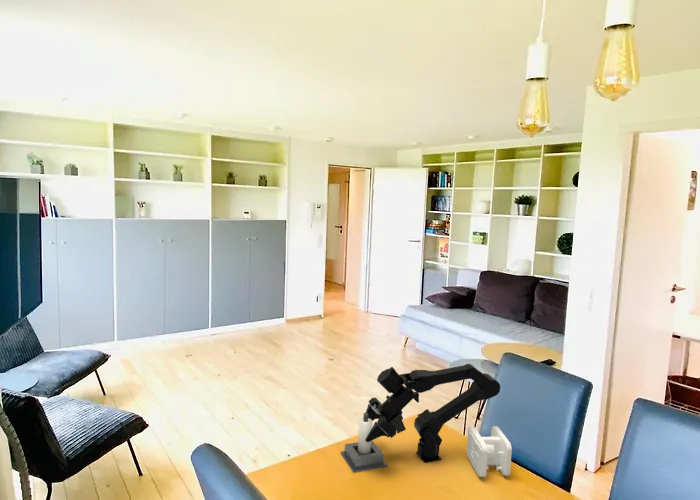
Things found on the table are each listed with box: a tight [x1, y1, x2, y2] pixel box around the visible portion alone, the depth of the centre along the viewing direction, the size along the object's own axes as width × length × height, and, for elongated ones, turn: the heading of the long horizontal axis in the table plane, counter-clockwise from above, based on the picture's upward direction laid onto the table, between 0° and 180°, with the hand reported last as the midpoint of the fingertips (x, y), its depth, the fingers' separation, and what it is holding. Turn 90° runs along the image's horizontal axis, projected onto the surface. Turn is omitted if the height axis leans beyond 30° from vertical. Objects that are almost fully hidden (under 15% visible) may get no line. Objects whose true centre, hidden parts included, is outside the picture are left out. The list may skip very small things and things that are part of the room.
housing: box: [340, 440, 389, 474], centre depth 155 cm, size 12×12×4 cm
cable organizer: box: [466, 425, 513, 478], centre depth 152 cm, size 15×11×12 cm
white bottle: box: [357, 412, 373, 456], centre depth 154 cm, size 5×5×15 cm
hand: (363, 434), depth 154 cm, fingers open, 9 cm apart
